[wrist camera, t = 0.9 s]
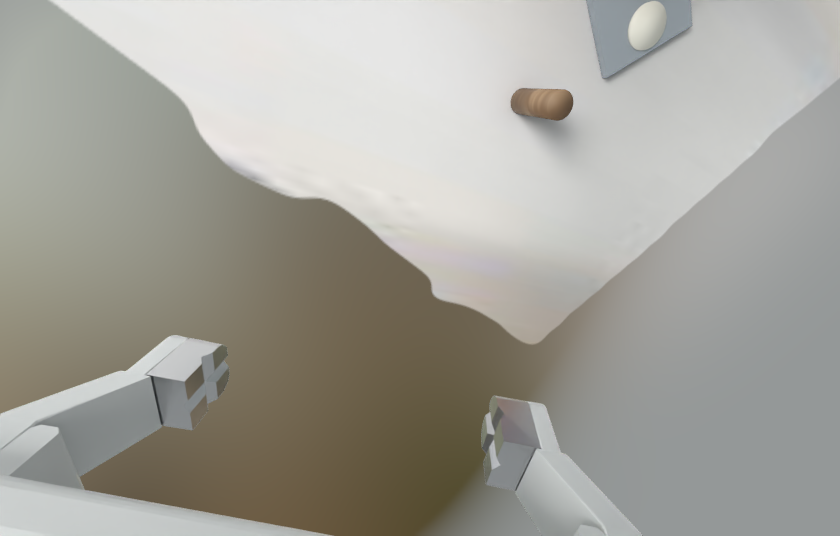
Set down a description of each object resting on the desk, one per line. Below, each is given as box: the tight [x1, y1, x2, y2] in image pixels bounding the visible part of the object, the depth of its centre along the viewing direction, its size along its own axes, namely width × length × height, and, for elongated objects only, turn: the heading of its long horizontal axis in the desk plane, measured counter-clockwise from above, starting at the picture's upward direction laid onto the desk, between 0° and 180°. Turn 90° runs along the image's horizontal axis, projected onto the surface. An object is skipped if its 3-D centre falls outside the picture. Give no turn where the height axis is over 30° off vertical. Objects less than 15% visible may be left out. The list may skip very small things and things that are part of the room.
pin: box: [511, 88, 573, 121], centre depth 41 cm, size 3×3×9 cm
